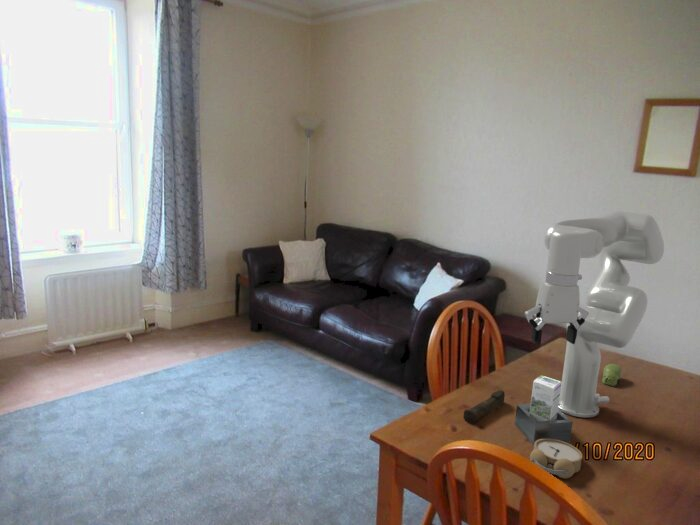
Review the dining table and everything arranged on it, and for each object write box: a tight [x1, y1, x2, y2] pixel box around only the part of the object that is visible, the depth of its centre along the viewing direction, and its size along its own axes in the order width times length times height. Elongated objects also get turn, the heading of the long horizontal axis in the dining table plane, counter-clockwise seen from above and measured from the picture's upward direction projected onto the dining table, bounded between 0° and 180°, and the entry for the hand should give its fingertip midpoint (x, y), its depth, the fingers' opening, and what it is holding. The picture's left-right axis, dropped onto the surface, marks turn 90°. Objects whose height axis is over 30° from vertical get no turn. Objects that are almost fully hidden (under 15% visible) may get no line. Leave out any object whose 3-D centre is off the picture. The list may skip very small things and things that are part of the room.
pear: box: [601, 363, 623, 387], centre depth 175 cm, size 6×5×10 cm
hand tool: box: [463, 389, 506, 425], centre depth 151 cm, size 19×4×5 cm, turn 131°
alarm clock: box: [529, 438, 583, 479], centre depth 127 cm, size 11×5×15 cm
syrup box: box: [530, 374, 562, 421], centre depth 139 cm, size 6×6×14 cm
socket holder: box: [514, 403, 574, 446], centre depth 140 cm, size 10×10×6 cm
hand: (553, 342), depth 135 cm, fingers open, 9 cm apart
